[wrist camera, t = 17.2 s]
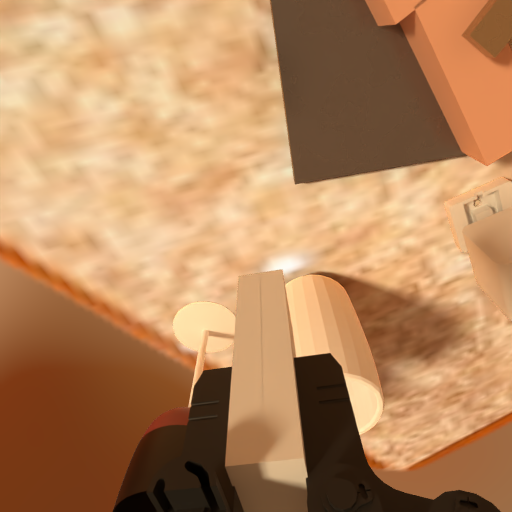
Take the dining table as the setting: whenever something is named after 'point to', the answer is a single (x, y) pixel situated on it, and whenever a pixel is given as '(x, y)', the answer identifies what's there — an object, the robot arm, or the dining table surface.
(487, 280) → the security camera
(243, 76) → the dining table surface
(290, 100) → the base
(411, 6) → the link
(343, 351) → the cup
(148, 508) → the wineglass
